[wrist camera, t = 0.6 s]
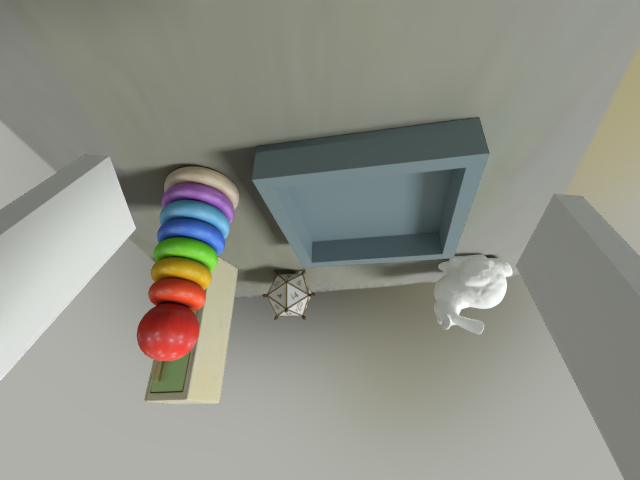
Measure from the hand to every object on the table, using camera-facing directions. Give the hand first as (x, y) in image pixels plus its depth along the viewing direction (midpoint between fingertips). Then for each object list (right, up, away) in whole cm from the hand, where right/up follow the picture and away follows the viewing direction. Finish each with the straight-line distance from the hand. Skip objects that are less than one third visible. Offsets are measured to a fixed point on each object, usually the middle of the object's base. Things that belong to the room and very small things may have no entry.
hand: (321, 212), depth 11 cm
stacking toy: (-13, +5, +28) cm, 31 cm away
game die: (-5, -7, +50) cm, 51 cm away
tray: (+6, +4, +29) cm, 30 cm away
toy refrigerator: (-19, -5, +47) cm, 51 cm away
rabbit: (+22, -4, +45) cm, 50 cm away
